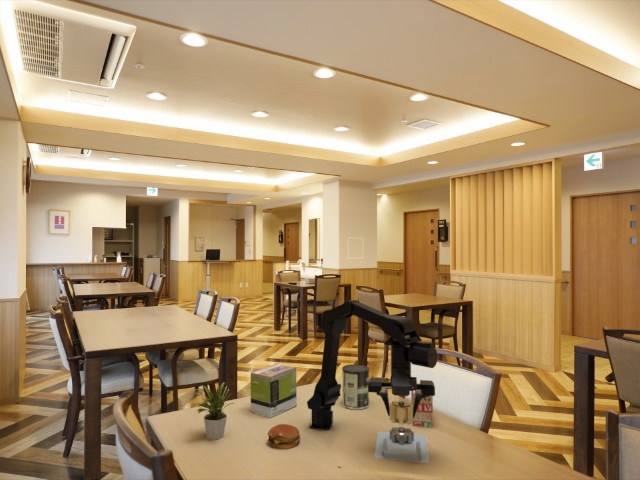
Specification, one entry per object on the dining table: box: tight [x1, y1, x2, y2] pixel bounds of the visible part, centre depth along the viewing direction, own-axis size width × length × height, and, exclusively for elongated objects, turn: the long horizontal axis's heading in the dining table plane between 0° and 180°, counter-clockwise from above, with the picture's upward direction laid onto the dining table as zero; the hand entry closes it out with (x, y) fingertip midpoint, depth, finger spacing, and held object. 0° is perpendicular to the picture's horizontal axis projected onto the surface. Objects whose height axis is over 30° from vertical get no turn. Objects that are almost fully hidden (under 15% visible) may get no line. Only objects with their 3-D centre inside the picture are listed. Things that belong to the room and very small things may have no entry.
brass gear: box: [389, 400, 413, 426], centre depth 126 cm, size 7×7×5 cm
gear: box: [389, 426, 415, 445], centre depth 133 cm, size 7×7×3 cm
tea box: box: [250, 363, 298, 419], centre depth 161 cm, size 15×10×15 cm, turn 144°
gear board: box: [373, 430, 430, 464], centre depth 129 cm, size 15×18×3 cm
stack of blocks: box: [410, 381, 434, 428], centre depth 154 cm, size 21×6×12 cm, turn 170°
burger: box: [267, 423, 301, 450], centre depth 133 cm, size 10×9×5 cm
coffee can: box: [341, 364, 370, 410], centre depth 166 cm, size 10×10×14 cm
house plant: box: [193, 381, 236, 441], centre depth 139 cm, size 14×14×16 cm
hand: (401, 416), depth 126 cm, fingers closed on brass gear, 7 cm apart
